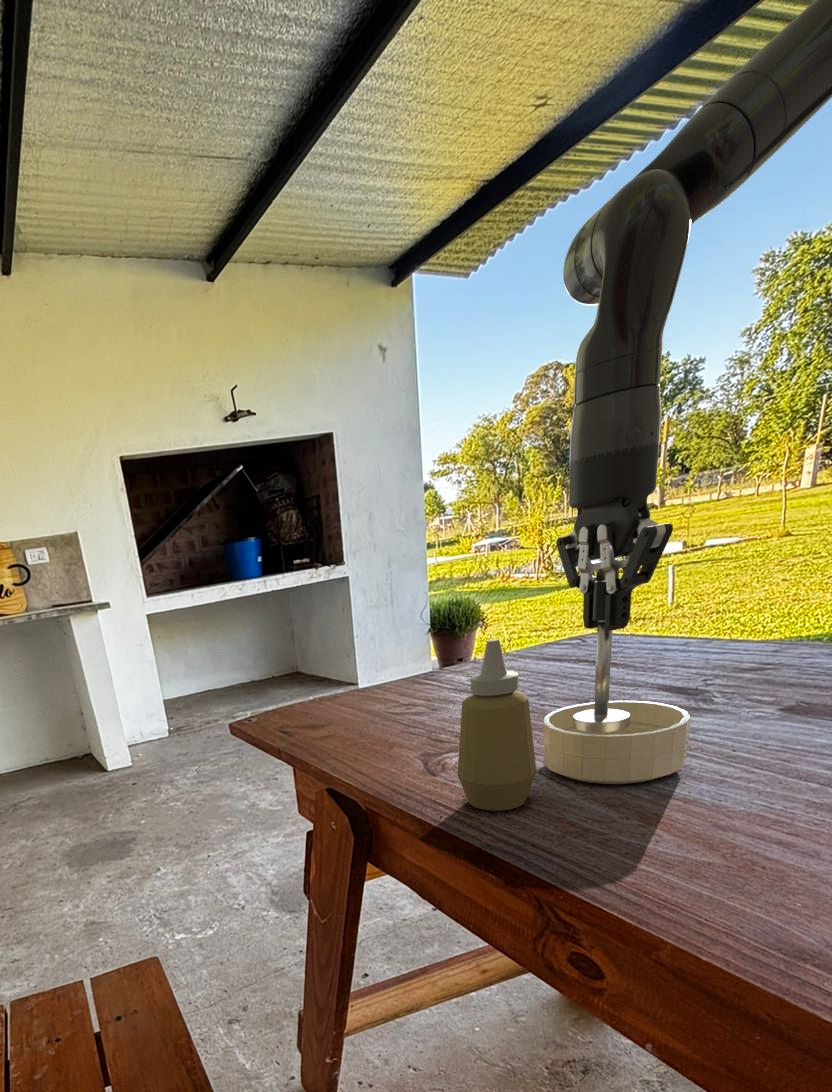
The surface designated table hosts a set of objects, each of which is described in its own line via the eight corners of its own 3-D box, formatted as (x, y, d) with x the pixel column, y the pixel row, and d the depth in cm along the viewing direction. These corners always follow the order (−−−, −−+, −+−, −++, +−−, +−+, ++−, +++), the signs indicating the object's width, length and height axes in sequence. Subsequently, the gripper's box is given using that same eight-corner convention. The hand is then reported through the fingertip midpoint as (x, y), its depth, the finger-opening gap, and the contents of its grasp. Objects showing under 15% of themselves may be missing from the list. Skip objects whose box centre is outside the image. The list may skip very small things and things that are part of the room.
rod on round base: (604, 715, 73) (610, 575, 68) (641, 725, 68) (652, 574, 62) (561, 725, 73) (564, 584, 67) (596, 735, 67) (603, 584, 62)
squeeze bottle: (540, 789, 70) (541, 629, 63) (531, 818, 63) (532, 644, 57) (466, 787, 74) (460, 636, 68) (451, 814, 68) (443, 651, 61)
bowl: (618, 739, 80) (620, 694, 78) (718, 769, 67) (724, 716, 64) (518, 763, 78) (518, 717, 76) (601, 798, 65) (603, 745, 63)
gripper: (710, 426, 54) (691, 625, 60) (595, 457, 67) (589, 618, 73) (635, 439, 53) (624, 639, 60) (533, 468, 66) (532, 630, 72)
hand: (604, 627), depth 66 cm, fingers closed on rod on round base, 2 cm apart
